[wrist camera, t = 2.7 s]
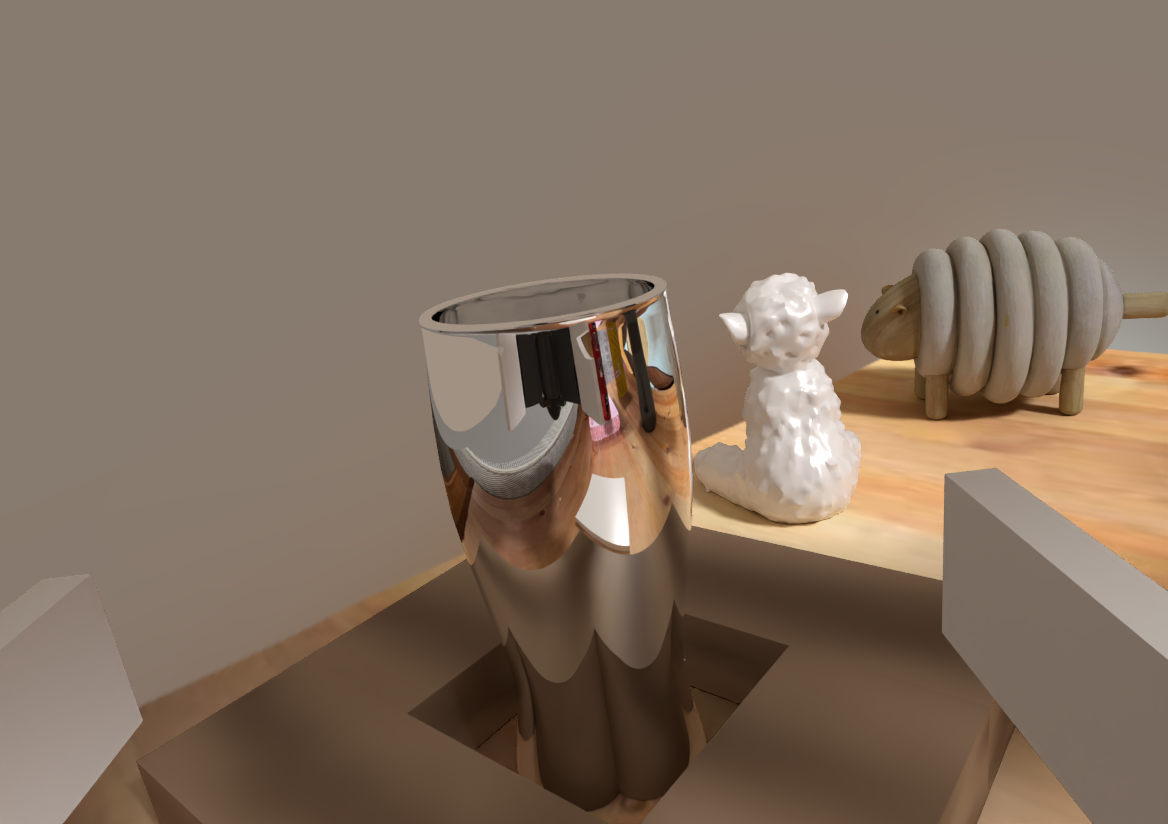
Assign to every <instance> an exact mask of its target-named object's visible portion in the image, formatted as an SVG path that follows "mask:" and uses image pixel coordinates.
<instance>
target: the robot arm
mask: <svg viewBox="0 0 1168 824" xmlns="http://www.w3.org/2000/svg"><path fill="white" fill-rule="evenodd" d="M942 633H943V634H944V636H945V637H946V638H947V640H948V641H949V642H950V643H951V645H952V646H953V647H954V648H955V650H956V651H957V652H958V653H959V655H960V656H961V657H962V659H963V660H964V661H965V662H966V664H967V665H968V666H969V667H970V669H971V670H972V671H973V673H974V674H975V675H976V676H977V678H978V679H979V680H980V681H981V683H982V684H983V685H984V687H985V688H986V689H987V690H988V692H989V693H990V694H991V695H992V697H993V698H994V699H995V700H996V702H997V703H998V704H999V706H1000V707H1001V708H1002V709H1003V711H1004V712H1005V713H1006V714H1007V716H1008V717H1009V718H1010V720H1011V721H1012V722H1013V723H1014V725H1015V726H1016V727H1017V728H1018V730H1019V731H1020V732H1021V734H1022V735H1023V736H1024V737H1025V739H1026V740H1027V741H1028V742H1029V744H1030V745H1031V746H1032V748H1033V749H1034V750H1035V751H1036V753H1037V754H1038V755H1039V756H1040V758H1041V759H1042V760H1043V761H1044V763H1045V764H1046V765H1047V767H1048V768H1049V769H1050V770H1051V772H1052V773H1053V774H1054V775H1055V777H1056V778H1057V779H1058V781H1059V782H1060V783H1061V784H1062V786H1063V787H1064V788H1065V789H1066V791H1067V792H1068V793H1069V795H1070V796H1071V797H1072V798H1073V800H1074V801H1075V802H1076V803H1077V805H1078V806H1079V807H1080V808H1081V810H1082V811H1083V812H1084V814H1085V815H1086V816H1087V817H1088V819H1089V820H1090V821H1091V822H1092V824H1168V591H1167V590H1166V589H1164V588H1163V587H1161V586H1160V585H1159V584H1157V583H1156V582H1154V581H1153V580H1152V579H1150V578H1149V577H1147V576H1146V575H1145V574H1143V573H1142V572H1140V571H1139V570H1138V569H1136V568H1135V567H1133V566H1132V565H1131V564H1129V563H1128V562H1126V561H1125V560H1124V559H1122V558H1121V557H1119V556H1118V555H1117V554H1115V553H1114V552H1113V551H1111V550H1110V549H1108V548H1107V547H1106V546H1104V545H1103V544H1101V543H1100V542H1099V541H1097V540H1096V539H1094V538H1093V537H1092V536H1090V535H1089V534H1087V533H1086V532H1085V531H1083V530H1082V529H1080V528H1079V527H1078V526H1076V525H1075V524H1073V523H1072V522H1071V521H1069V520H1068V519H1066V518H1065V517H1064V516H1062V515H1061V514H1059V513H1058V512H1057V511H1055V510H1054V509H1053V508H1051V507H1050V506H1048V505H1047V504H1046V503H1044V502H1043V501H1041V500H1040V499H1039V498H1037V497H1036V496H1034V495H1033V494H1032V493H1030V492H1029V491H1027V490H1026V489H1025V488H1023V487H1022V486H1020V485H1019V484H1018V483H1016V482H1015V481H1013V480H1012V479H1011V478H1009V477H1008V476H1006V475H1005V474H1004V473H1002V472H1001V471H999V470H998V469H997V468H992V469H983V470H975V471H966V472H957V473H949V474H945V485H944V542H943V598H942ZM142 722H143V719H142V716H141V714H140V711H139V708H138V705H137V702H136V699H135V696H134V693H133V691H132V688H131V685H130V682H129V679H128V676H127V674H126V671H125V668H124V665H123V662H122V659H121V656H120V653H119V650H118V648H117V645H116V642H115V639H114V636H113V633H112V630H111V627H110V625H109V622H108V619H107V616H106V613H105V610H104V608H103V605H102V602H101V599H100V596H99V593H98V591H97V587H96V585H95V582H94V579H93V576H92V574H91V573H89V574H79V575H71V576H62V577H54V578H45V579H42V580H41V581H40V582H38V583H37V584H36V585H35V586H33V587H32V588H31V589H29V590H28V591H27V592H25V593H24V594H23V595H22V596H20V597H19V598H18V599H16V600H15V601H14V602H13V603H11V604H10V605H9V606H7V607H6V608H5V609H3V610H2V611H1V612H0V824H63V823H64V822H65V821H66V819H67V818H68V817H69V815H70V814H71V813H72V812H73V810H74V809H75V808H76V806H77V805H78V804H79V803H80V801H81V800H82V799H83V797H84V796H85V795H86V794H87V792H88V791H89V790H90V788H91V787H92V786H93V785H94V783H95V782H96V781H97V780H98V778H99V777H100V776H101V774H102V773H103V772H104V771H105V769H106V768H107V767H108V765H109V764H110V763H111V762H112V760H113V759H114V758H115V756H116V755H117V754H118V753H119V751H120V750H121V749H122V747H123V746H124V745H125V744H126V742H127V741H128V740H129V738H130V737H131V736H132V735H133V733H134V732H135V731H136V729H137V728H138V727H139V726H140V724H141V723H142Z"/></svg>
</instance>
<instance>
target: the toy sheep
mask: <svg viewBox="0 0 1168 824" xmlns="http://www.w3.org/2000/svg"><path fill="white" fill-rule="evenodd" d="M1167 315H1168V294H1167V293H1165V292H1151V293H1133V294H1132V293H1130V294H1122V291H1121V288H1120V285H1119V283H1118V281H1117V279H1116V277H1115V275H1114V274H1113V272H1112V271H1111V269H1110V268H1109V267H1108V266H1107V265H1106V264H1105V263H1104V262H1103V261H1102V260H1101V259H1099V258H1098V257H1096V255H1095V253H1094V251H1093V250H1092V248H1091V247H1090V246H1089V245H1088V244H1087V243H1086V242H1084V241H1082V240H1080V239H1078V238H1074V237H1066V238H1061V239H1058V240H1056V241H1053V240H1052V239H1051V238H1050V237H1049V236H1048V235H1047V234H1045V233H1042V232H1039V231H1027V232H1024V233H1022V234H1020V235H1019V236H1018V237H1017V236H1016V235H1014V234H1013V233H1012V232H1010V231H1008V230H1005V229H995V230H992V231H989V232H988V233H986V234H985V235H984V236H983V237H982V238H981V239H980V241H977V240H976V239H974V238H972V237H961V238H958V239H956V240H954V241H953V242H952V243H951V244H950V245H949V246H948V248H947V249H946V252H944V251H943V250H940V249H928V250H925V251H924V252H922V253H921V254H920V255H919V256H918V257H917V258H916V260H915V262H914V264H913V269H912V275H910V276H908V277H907V278H905V279H903V280H902V281H900V282H898V283H897V284H895V285H894V286H893V285H887V286H885V287H883V288H882V296H881V297H880V298H879V299H878V300H877V301H876V302H875V303H874V304H873V306H872V307H871V309H870V310H869V311H868V313H867V315H866V317H865V319H864V322H863V324H862V329H861V339H862V342H863V344H864V346H865V348H866V349H867V350H868V351H869V352H871V354H873V355H874V356H876V357H878V358H881V359H884V360H891V361H904V360H911V359H914V363H915V389H914V390H915V395H916V396H917V397H918V398H920V399H926V415H927V416H928V417H929V418H931V419H934V420H940V419H943V418H944V417H946V415H947V411H948V387H949V388H950V390H951V391H952V392H954V393H956V394H958V395H961V396H969V395H973V394H975V393H976V392H978V391H980V392H981V394H982V395H983V396H984V397H985V398H986V399H987V400H989V401H991V402H993V403H1000V404H1001V403H1006V402H1010V401H1011V400H1013V399H1015V398H1016V397H1017V396H1018V395H1019V393H1020V394H1021V395H1023V396H1026V397H1040V396H1043V395H1045V394H1047V393H1048V394H1056V393H1059V392H1060V393H1059V409H1060V411H1061V412H1062V413H1064V414H1067V415H1075V414H1078V413H1080V412H1081V411H1082V409H1083V392H1084V376H1085V367H1086V365H1087V364H1088V363H1089V362H1090V361H1092V360H1095V359H1097V358H1098V357H1099V356H1100V355H1101V354H1102V353H1103V352H1104V351H1105V350H1106V349H1107V348H1108V347H1109V345H1110V344H1111V343H1112V341H1113V340H1114V338H1115V336H1116V334H1117V332H1118V330H1119V328H1120V325H1121V322H1122V319H1133V318H1159V317H1165V316H1167Z"/></svg>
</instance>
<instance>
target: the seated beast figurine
mask: <svg viewBox="0 0 1168 824" xmlns="http://www.w3.org/2000/svg"><path fill="white" fill-rule="evenodd" d="M814 287H815V285H814V283H813V282H808V280H807V278H806V277H799V276H797V275H796V274H792V273H784V274H781V275H776V274H775V275H773V276H770V277H768V278H766V279H765V280H762V281H754V282H753V283H752V284H751V286H750V288H749V289H748V290H747V291H746V292H745V293H744V296H743V298H742V299H741V301H740V302H739V303H738V304H737V305H736V306H735V308H734V311H733V313H723V314H720V315H719V316H720V318H721V319H722V320H723V322H724V323H725V325H726V327H727V329H728V330H729V333H730V335H731V338H732V340H733V342H734V343H735V344H736V345H737V346H738V347H739V348H740V350H741V353H743V354H745V357H746V360H747V361H748V362H752V363H755V364H756V365H757V367H755V368H753V369H751V371H750V379H751V384H750V385H749V386H748V389H747V390H746V393H745V407H744V408H743V412H742V417H743V419H744V420H745V422H746V435H747V437H748V438H747V439H746V440H745V446H746V448H745V449H744V450H743V451H742V450H741V449H740V448H739V447H738V446H737V445H733V446H728V445H726V444H723V443H720V442H718V443H716V444H715V445H713V446H712V447H709V448H706V449H704V450H701V451H699V452H698V453H697V455H696V456H695V459H694V470H695V473H696V475H697V477H698V479H699V480H700V481H701V482H702V484H703V485H704V486H705V488H706V492H711V491H712V492H714V493H717V494H718V495H719V496H721V497H723V498H725V499H727V500H729V501H732V503H734V504H738V505H740V506H742V507H744V508H746V509H748V510H750V511H756V512H757V513H759V514H761V515H762V516H764V517H766V518H768V519H769V520H771V521H776V522H786V523H788V524H797V523H809V522H815V521H820V520H825V519H829V518H831V517H832V516H833V515H837V514H839V513H841V512H843V511H844V510H845V508H846V506H848V505H849V504H850V498H851V497H852V496H853V494H854V492H855V491H854V489H855V487H856V485H857V478H858V476H859V468H860V460H861V459H862V453H861V442H860V440H859V437H858V436H857V435H856V434H855V433H853V432H852V431H848V430H844V429H845V425H844V423H843V422H842V421H841V420H840V417H841V415H842V414H841V411H840V405H841V401H840V399H839V398H838V396H837V394H836V393H835V392H834V386H833V385H832V379H830V378H829V377H828V376H827V375H826V374H825V370H824V366H822V365H821V364H820V363H819V362H818V361H817V360H816V359H814V358H816V357H817V356H818V355H819V352H820V349H821V347H822V345H823V344H824V341H825V339H826V338H827V336H828V335H829V328H828V325H827V322H829V321H831V320H833V319H835V318H837V317H839V316H840V315H841V313H842V311H843V309H844V307H845V305H846V302H847V297H848V294H847V293H846V291H845V290H832V291H828V292H825V293H822V294H819V295H818V294H817V293H816V290H815V288H814Z"/></svg>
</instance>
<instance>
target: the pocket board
mask: <svg viewBox="0 0 1168 824" xmlns="http://www.w3.org/2000/svg"><path fill="white" fill-rule="evenodd" d="M942 598H943V581H941V580H936V579H932V578H927V577H923V576H918V575H914V574H909V573H905V572H900V571H895V570H891V569H886V568H882V567H877V566H873V565H868V564H864V563H859V562H854V561H850V560H845V559H841V558H836V557H832V556H827V555H823V554H818V553H813V552H809V551H804V550H800V549H795V548H791V547H786V546H782V545H777V544H772V543H768V542H763V541H759V540H754V539H750V538H745V537H741V536H736V535H731V534H727V533H722V532H718V531H713V530H709V529H704V528H700V527H695V526H691V538H690V551H689V563H688V574H687V585H686V595H685V607H684V623H683V648H684V659H685V667H686V674H687V678H688V682H689V685H690V686H693V687H696V688H698V689H701V690H704V691H706V692H709V693H712V694H714V695H717V696H720V697H722V698H725V699H728V700H730V701H733V702H736V703H739V704H740V705H739V706H738V707H737V709H736V710H735V711H734V712H733V713H732V715H731V716H730V717H729V718H728V719H727V721H726V722H725V723H724V724H723V725H722V727H721V728H720V729H719V730H718V731H717V733H716V734H715V735H714V736H713V737H712V739H711V740H710V741H709V742H708V743H707V745H706V746H705V747H704V748H703V749H702V751H701V752H700V753H699V754H698V755H697V756H696V758H695V759H694V760H693V761H692V762H691V764H690V765H689V766H688V767H687V768H686V770H685V771H684V772H683V773H682V774H681V776H680V777H679V778H678V779H677V780H676V782H675V783H674V784H673V785H672V786H671V788H670V789H669V790H668V791H667V792H666V794H665V795H664V796H663V797H662V798H661V800H660V801H659V802H658V803H657V804H656V806H655V807H654V808H653V809H652V810H651V812H650V813H649V814H648V815H647V816H646V818H645V819H644V820H643V821H642V822H641V824H977V822H978V819H979V816H980V814H981V811H982V809H983V806H984V804H985V801H986V799H987V796H988V794H989V791H990V789H991V786H992V783H993V781H994V778H995V776H996V773H997V771H998V768H999V766H1000V763H1001V761H1002V758H1003V756H1004V753H1005V750H1006V748H1007V745H1008V743H1009V740H1010V738H1011V735H1012V733H1013V730H1014V728H1015V725H1014V723H1013V722H1012V721H1011V720H1010V718H1009V717H1008V716H1007V714H1006V713H1005V712H1004V711H1003V709H1002V708H1001V707H1000V706H999V704H998V703H997V702H996V700H995V699H994V698H993V697H992V695H991V694H990V693H989V692H988V690H987V689H986V688H985V687H984V685H983V684H982V683H981V681H980V680H979V679H978V678H977V676H976V675H975V674H974V673H973V671H972V670H971V669H970V667H969V666H968V665H967V664H966V662H965V661H964V660H963V659H962V657H961V656H960V655H959V653H958V652H957V651H956V650H955V648H954V647H953V646H952V645H951V643H950V642H949V641H948V640H947V638H946V637H945V636H944V634H943V633H942ZM516 714H517V698H516V692H515V685H514V680H513V677H512V673H511V669H510V666H509V662H508V659H507V657H506V654H505V651H504V649H503V646H502V644H501V641H500V638H499V636H498V633H497V631H496V628H495V626H494V624H493V621H492V619H491V617H490V614H489V612H488V609H487V607H486V605H485V602H484V600H483V598H482V595H481V593H480V590H479V588H478V585H477V583H476V580H475V578H474V575H473V573H472V570H471V568H470V565H469V563H468V560H467V559H466V560H464V561H463V562H461V563H459V564H458V565H456V566H454V567H453V568H451V569H450V570H448V571H446V572H445V573H443V574H441V575H440V576H438V577H437V578H435V579H433V580H432V581H430V582H428V583H427V584H425V585H423V586H422V587H420V588H419V589H417V590H415V591H414V592H412V593H410V594H409V595H407V596H406V597H404V598H402V599H401V600H399V601H397V602H396V603H394V604H392V605H391V606H389V607H388V608H386V609H384V610H383V611H381V612H379V613H378V614H376V615H375V616H373V617H371V618H370V619H368V620H366V621H365V622H363V623H362V624H360V625H358V626H357V627H355V628H353V629H352V630H350V631H348V632H347V633H345V634H344V635H342V636H340V637H339V638H337V639H335V640H334V641H332V642H331V643H329V644H327V645H326V646H324V647H322V648H321V649H319V650H317V651H316V652H314V653H313V654H311V655H309V656H308V657H306V658H304V659H303V660H301V661H300V662H298V663H296V664H295V665H293V666H291V667H290V668H288V669H286V670H285V671H283V672H282V673H280V674H278V675H277V676H275V677H273V678H272V679H270V680H269V681H267V682H265V683H264V684H262V685H260V686H259V687H257V688H255V689H254V690H252V691H251V692H249V693H247V694H246V695H244V696H242V697H241V698H239V699H238V700H236V701H234V702H233V703H231V704H229V705H228V706H226V707H225V708H223V709H221V710H220V711H218V712H216V713H215V714H213V715H211V716H210V717H208V718H207V719H205V720H203V721H202V722H200V723H198V724H197V725H195V726H194V727H192V728H190V729H189V730H187V731H185V732H184V733H182V734H180V735H179V736H177V737H176V738H174V739H172V740H171V741H169V742H167V743H166V744H164V745H163V746H161V747H159V748H158V749H156V750H154V751H153V752H151V753H149V754H148V755H146V756H145V757H143V758H141V759H140V760H138V761H136V762H137V765H138V767H139V770H140V773H141V775H142V778H143V780H144V783H145V786H146V788H147V791H148V794H149V796H150V799H151V802H152V804H153V807H154V809H155V812H156V815H157V817H158V820H159V823H160V824H608V823H607V822H605V821H603V820H601V819H599V818H597V817H596V816H594V815H592V814H590V813H588V812H586V811H585V810H583V809H581V808H579V807H577V806H575V805H574V804H572V803H570V802H568V801H566V800H564V799H563V798H561V797H559V796H557V795H555V794H553V793H552V792H550V791H548V790H546V789H544V788H542V787H541V786H539V785H537V784H535V783H533V782H531V781H530V780H528V779H526V778H524V777H522V776H520V775H519V774H517V773H515V772H513V771H511V770H509V769H508V768H506V767H504V766H502V765H500V764H498V763H497V762H495V761H493V760H491V759H489V758H487V757H486V756H484V755H482V754H480V753H478V752H476V751H475V749H476V748H478V747H479V746H480V745H481V744H482V743H483V742H485V741H486V740H487V739H488V738H489V737H490V736H492V735H493V734H494V733H495V732H496V731H497V730H499V729H500V728H501V727H502V726H503V725H504V724H505V723H507V722H508V721H509V720H510V719H511V718H512V717H514V716H515V715H516Z"/></svg>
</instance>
